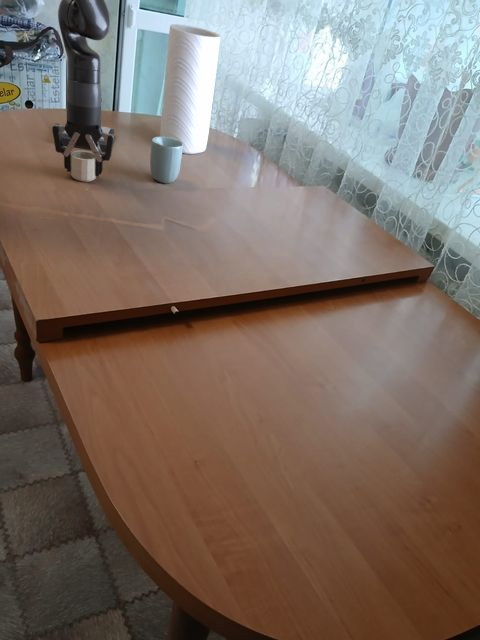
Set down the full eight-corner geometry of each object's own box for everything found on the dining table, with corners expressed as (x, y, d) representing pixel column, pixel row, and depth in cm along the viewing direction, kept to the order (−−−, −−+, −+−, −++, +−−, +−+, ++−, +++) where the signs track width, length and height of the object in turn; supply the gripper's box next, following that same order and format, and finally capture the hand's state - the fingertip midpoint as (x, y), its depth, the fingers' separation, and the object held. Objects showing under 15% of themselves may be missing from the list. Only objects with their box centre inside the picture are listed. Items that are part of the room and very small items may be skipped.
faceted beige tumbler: (68, 179, 131) (68, 157, 127) (73, 170, 135) (73, 148, 132) (94, 183, 132) (94, 161, 128) (98, 174, 136) (98, 153, 133)
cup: (170, 188, 139) (174, 149, 133) (143, 179, 140) (146, 140, 134) (183, 180, 145) (188, 142, 139) (157, 172, 146) (160, 134, 140)
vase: (215, 152, 169) (232, 38, 150) (181, 157, 159) (194, 36, 140) (184, 136, 175) (196, 25, 156) (149, 140, 165) (157, 22, 147)
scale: (57, 144, 148) (57, 134, 146) (68, 128, 160) (68, 119, 158) (106, 152, 150) (106, 143, 149) (113, 136, 162) (114, 127, 160)
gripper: (46, 98, 119) (49, 173, 129) (114, 111, 121) (111, 183, 131) (54, 90, 125) (56, 163, 134) (118, 102, 127) (115, 172, 137)
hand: (83, 172), depth 133 cm, fingers closed on faceted beige tumbler, 6 cm apart
